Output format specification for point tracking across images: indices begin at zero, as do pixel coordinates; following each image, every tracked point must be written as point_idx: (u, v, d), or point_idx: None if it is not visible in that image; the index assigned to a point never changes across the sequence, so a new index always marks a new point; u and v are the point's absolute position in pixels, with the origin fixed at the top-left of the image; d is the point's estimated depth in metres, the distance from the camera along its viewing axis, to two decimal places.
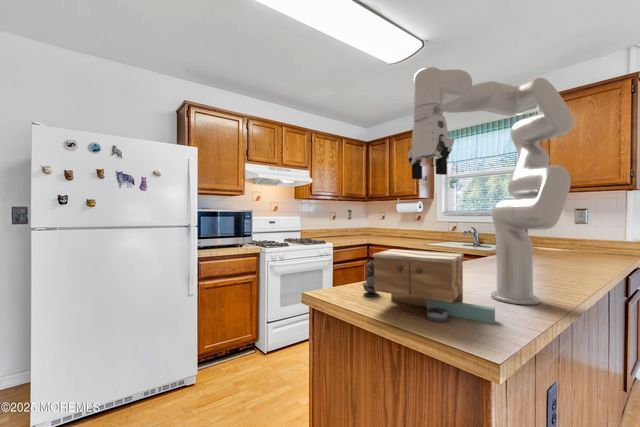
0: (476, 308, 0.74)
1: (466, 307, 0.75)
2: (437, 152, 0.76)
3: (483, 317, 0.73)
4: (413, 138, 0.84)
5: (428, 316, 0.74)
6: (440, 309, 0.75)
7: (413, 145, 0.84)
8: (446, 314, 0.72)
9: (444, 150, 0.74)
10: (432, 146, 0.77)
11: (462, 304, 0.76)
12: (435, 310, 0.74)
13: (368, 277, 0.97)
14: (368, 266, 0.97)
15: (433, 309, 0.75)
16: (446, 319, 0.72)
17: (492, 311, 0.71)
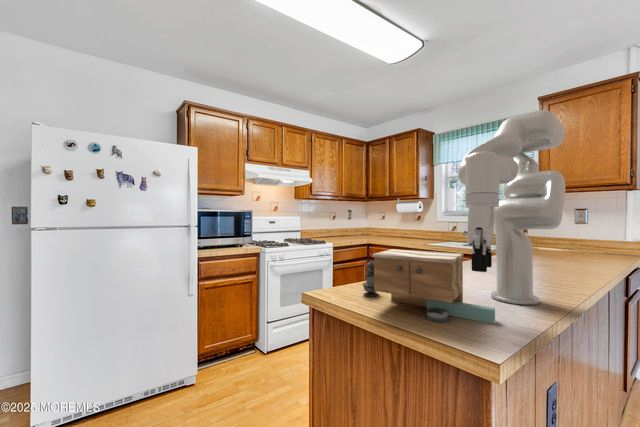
0: (476, 308, 0.73)
1: (466, 307, 0.75)
2: (490, 245, 0.77)
3: (483, 317, 0.73)
4: (490, 224, 0.70)
5: (428, 316, 0.74)
6: (440, 309, 0.75)
7: (490, 232, 0.70)
8: (446, 314, 0.72)
9: None
10: None
11: (462, 304, 0.76)
12: (435, 310, 0.74)
13: (368, 277, 0.97)
14: (368, 266, 0.97)
15: (433, 309, 0.75)
16: (446, 319, 0.72)
17: (492, 311, 0.71)
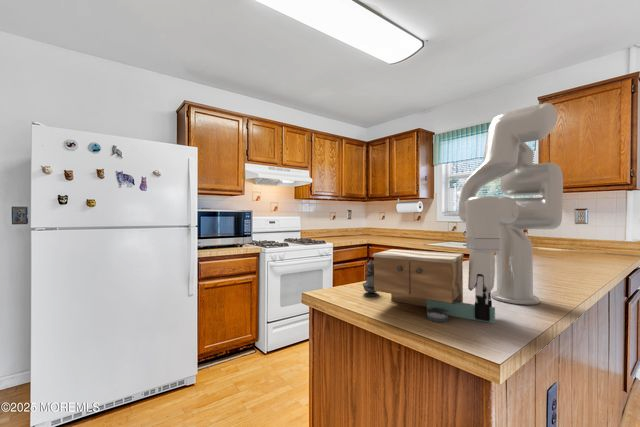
0: None
1: (466, 307, 0.75)
2: (490, 292, 0.76)
3: None
4: (491, 270, 0.70)
5: (428, 316, 0.74)
6: (440, 309, 0.75)
7: (491, 278, 0.70)
8: (446, 314, 0.72)
9: None
10: None
11: (462, 304, 0.76)
12: (435, 310, 0.74)
13: (368, 277, 0.97)
14: (368, 266, 0.97)
15: (433, 309, 0.75)
16: (446, 319, 0.72)
17: (492, 311, 0.72)
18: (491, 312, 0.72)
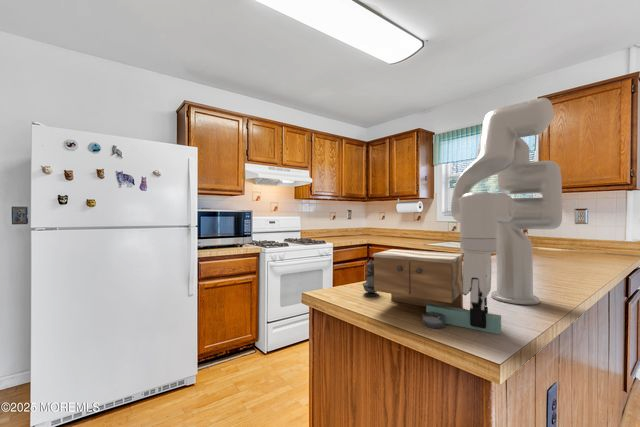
0: None
1: (469, 314, 0.68)
2: (486, 298, 0.69)
3: (487, 325, 0.66)
4: (487, 273, 0.64)
5: (423, 321, 0.70)
6: (436, 314, 0.71)
7: (487, 282, 0.64)
8: (442, 319, 0.68)
9: None
10: None
11: (465, 311, 0.69)
12: (431, 315, 0.71)
13: (368, 277, 0.97)
14: (368, 266, 0.97)
15: (429, 314, 0.71)
16: (442, 324, 0.68)
17: (498, 319, 0.65)
18: (497, 321, 0.65)
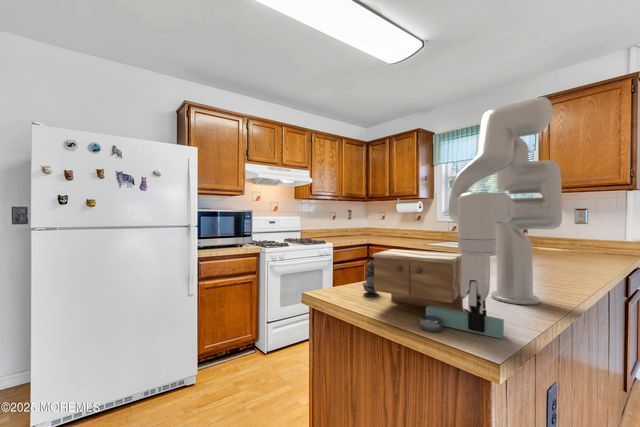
0: None
1: None
2: (485, 301, 0.67)
3: (489, 329, 0.63)
4: (486, 275, 0.62)
5: (421, 325, 0.68)
6: (434, 318, 0.69)
7: (486, 285, 0.62)
8: (440, 323, 0.66)
9: None
10: (489, 287, 0.68)
11: (466, 314, 0.67)
12: (429, 318, 0.68)
13: (368, 277, 0.97)
14: (368, 266, 0.97)
15: (427, 317, 0.69)
16: (440, 329, 0.66)
17: (500, 323, 0.62)
18: (499, 325, 0.62)
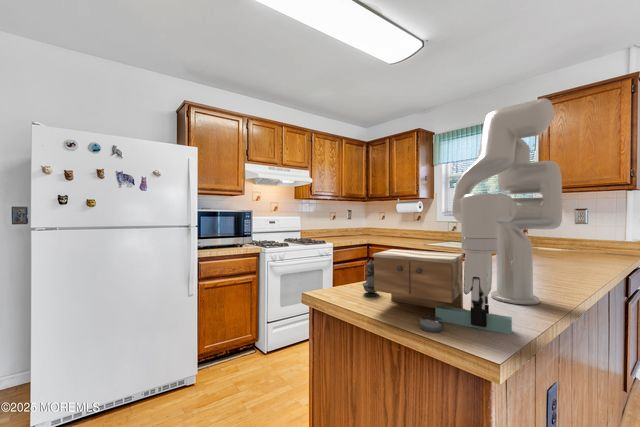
0: (491, 318, 0.67)
1: None
2: (487, 296, 0.71)
3: (498, 327, 0.66)
4: (488, 272, 0.65)
5: (421, 325, 0.68)
6: (434, 318, 0.69)
7: (488, 282, 0.65)
8: (440, 323, 0.66)
9: None
10: (491, 284, 0.71)
11: None
12: (429, 318, 0.68)
13: (368, 277, 0.97)
14: (368, 266, 0.97)
15: (427, 317, 0.69)
16: (440, 329, 0.66)
17: (509, 321, 0.65)
18: (508, 322, 0.65)
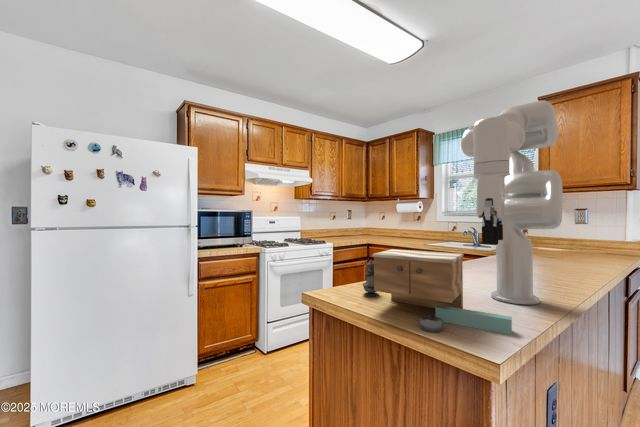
0: (491, 317, 0.67)
1: (480, 316, 0.68)
2: (501, 217, 0.74)
3: (498, 327, 0.66)
4: (501, 193, 0.66)
5: (421, 325, 0.68)
6: (434, 318, 0.69)
7: (501, 202, 0.66)
8: (440, 323, 0.66)
9: None
10: None
11: (475, 313, 0.69)
12: (429, 318, 0.68)
13: (368, 277, 0.97)
14: (368, 266, 0.97)
15: (427, 317, 0.69)
16: (440, 329, 0.66)
17: (509, 321, 0.65)
18: (508, 322, 0.65)
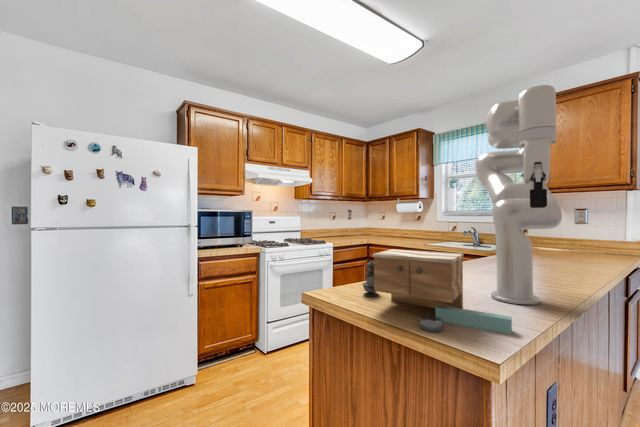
0: (491, 317, 0.67)
1: (480, 316, 0.68)
2: None
3: (498, 327, 0.66)
4: (549, 158, 0.68)
5: (421, 325, 0.68)
6: (434, 318, 0.69)
7: (549, 166, 0.68)
8: (440, 323, 0.66)
9: None
10: None
11: (475, 313, 0.69)
12: (429, 318, 0.68)
13: (368, 277, 0.97)
14: (368, 266, 0.97)
15: (427, 317, 0.69)
16: (440, 329, 0.66)
17: (509, 321, 0.65)
18: (508, 322, 0.65)
